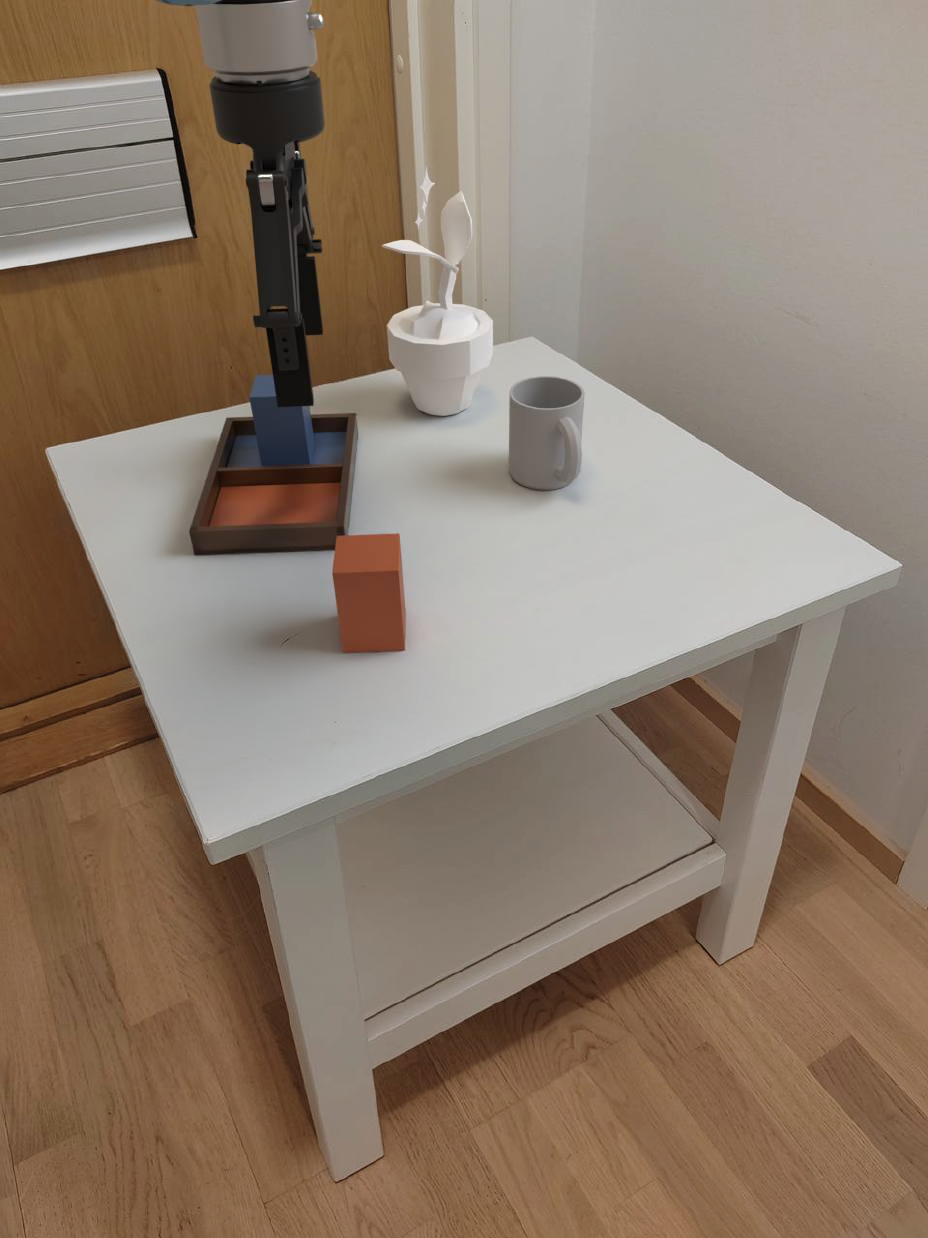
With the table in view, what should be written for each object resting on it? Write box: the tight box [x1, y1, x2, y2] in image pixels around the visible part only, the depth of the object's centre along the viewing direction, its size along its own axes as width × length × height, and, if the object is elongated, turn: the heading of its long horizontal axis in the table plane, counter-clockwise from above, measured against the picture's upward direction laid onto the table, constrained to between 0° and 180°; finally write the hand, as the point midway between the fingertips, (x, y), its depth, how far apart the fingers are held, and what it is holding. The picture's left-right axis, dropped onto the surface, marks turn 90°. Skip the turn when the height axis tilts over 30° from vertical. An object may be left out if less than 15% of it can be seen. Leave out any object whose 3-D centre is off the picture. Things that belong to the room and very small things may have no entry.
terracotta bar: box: [331, 533, 407, 654], centre depth 76 cm, size 5×5×8 cm
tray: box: [188, 412, 359, 556], centre depth 95 cm, size 14×22×3 cm, turn 2°
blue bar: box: [249, 374, 314, 466], centre depth 97 cm, size 5×5×8 cm
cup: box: [508, 375, 586, 491], centre depth 94 cm, size 7×10×9 cm
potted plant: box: [381, 165, 494, 417], centre depth 102 cm, size 13×12×25 cm
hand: (302, 367), depth 78 cm, fingers open, 13 cm apart
